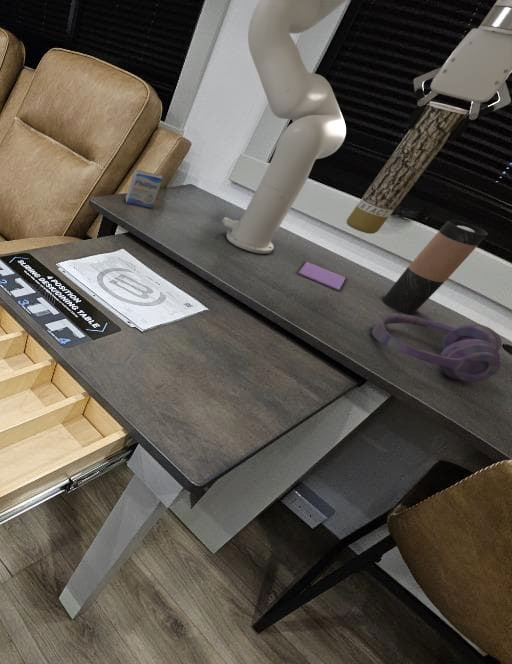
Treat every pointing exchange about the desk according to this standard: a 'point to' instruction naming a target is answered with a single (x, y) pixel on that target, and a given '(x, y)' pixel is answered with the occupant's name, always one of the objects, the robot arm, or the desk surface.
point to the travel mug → (434, 265)
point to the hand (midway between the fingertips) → (429, 133)
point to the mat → (322, 276)
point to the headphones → (450, 347)
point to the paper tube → (405, 165)
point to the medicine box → (143, 188)
